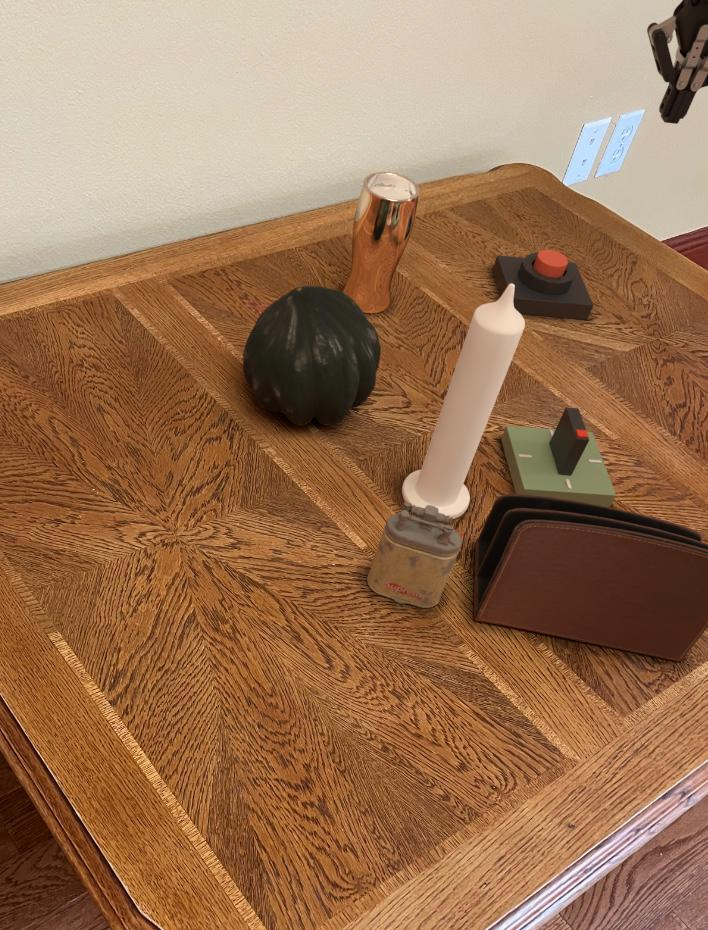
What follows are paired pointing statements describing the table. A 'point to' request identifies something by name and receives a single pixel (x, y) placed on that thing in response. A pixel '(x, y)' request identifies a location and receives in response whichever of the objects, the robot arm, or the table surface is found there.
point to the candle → (467, 407)
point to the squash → (312, 356)
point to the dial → (569, 441)
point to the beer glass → (380, 237)
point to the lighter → (414, 556)
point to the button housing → (543, 288)
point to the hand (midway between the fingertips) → (668, 120)
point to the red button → (550, 263)
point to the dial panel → (554, 468)
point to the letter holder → (592, 575)
